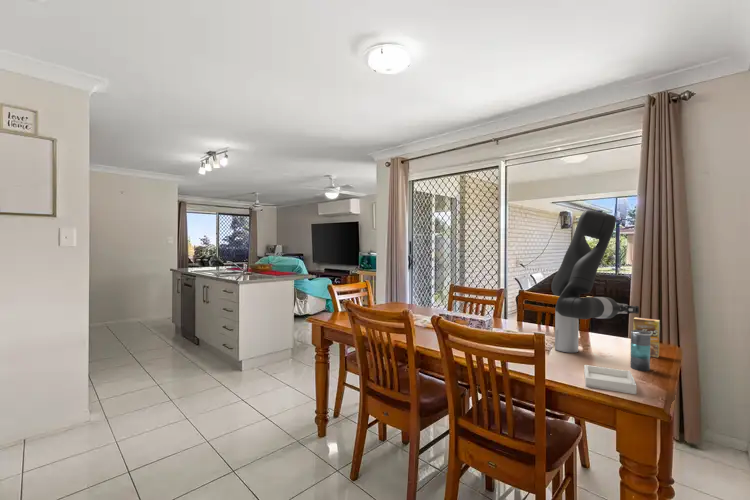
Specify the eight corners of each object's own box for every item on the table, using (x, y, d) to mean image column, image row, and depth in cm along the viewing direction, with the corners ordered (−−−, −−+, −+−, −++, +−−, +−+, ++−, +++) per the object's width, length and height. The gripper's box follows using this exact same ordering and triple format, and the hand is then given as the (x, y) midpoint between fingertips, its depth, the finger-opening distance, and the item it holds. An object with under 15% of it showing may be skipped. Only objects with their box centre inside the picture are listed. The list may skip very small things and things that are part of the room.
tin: (631, 369, 137) (632, 332, 137) (629, 364, 143) (629, 329, 142) (651, 372, 135) (652, 334, 134) (648, 367, 140) (649, 331, 139)
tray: (585, 386, 122) (585, 377, 122) (584, 372, 134) (584, 364, 134) (636, 394, 115) (636, 385, 115) (629, 379, 128) (630, 370, 128)
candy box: (632, 353, 156) (633, 318, 156) (633, 351, 159) (634, 316, 159) (658, 358, 150) (659, 321, 150) (659, 355, 154) (659, 319, 153)
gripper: (622, 298, 122) (645, 299, 131) (580, 295, 135) (603, 296, 143) (622, 320, 122) (645, 320, 130) (580, 315, 134) (603, 315, 142)
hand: (623, 308), depth 137 cm, fingers open, 8 cm apart
